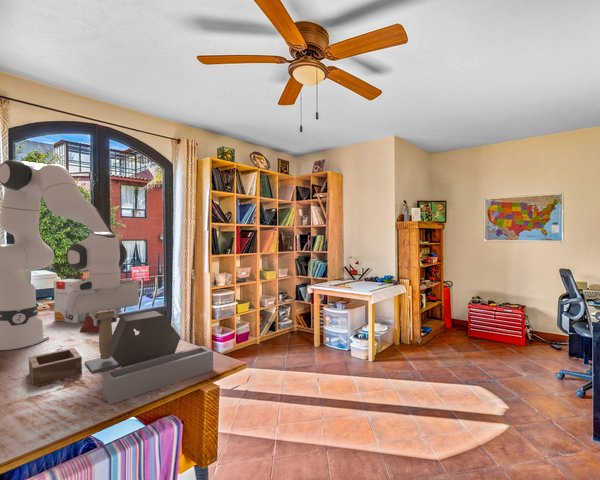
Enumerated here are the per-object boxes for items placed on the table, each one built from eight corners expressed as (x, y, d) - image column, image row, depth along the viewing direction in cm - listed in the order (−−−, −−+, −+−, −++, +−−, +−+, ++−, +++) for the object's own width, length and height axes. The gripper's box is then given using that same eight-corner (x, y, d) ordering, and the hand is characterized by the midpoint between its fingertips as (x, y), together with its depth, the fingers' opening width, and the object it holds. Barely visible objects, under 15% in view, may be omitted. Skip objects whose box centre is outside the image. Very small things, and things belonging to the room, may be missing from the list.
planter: (181, 343, 111) (145, 298, 103) (190, 349, 105) (152, 301, 97) (136, 382, 102) (93, 336, 94) (144, 391, 96) (99, 343, 88)
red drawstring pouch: (110, 326, 148) (110, 307, 148) (98, 332, 139) (98, 311, 139) (91, 326, 148) (91, 307, 148) (79, 332, 139) (78, 311, 139)
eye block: (29, 373, 98) (28, 357, 98) (74, 362, 106) (74, 347, 106) (33, 385, 90) (32, 368, 90) (81, 373, 98) (81, 357, 98)
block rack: (102, 395, 85) (102, 372, 85) (202, 364, 105) (202, 345, 105) (109, 404, 80) (109, 380, 80) (213, 370, 100) (213, 350, 100)
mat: (84, 363, 105) (84, 361, 105) (118, 355, 112) (118, 353, 112) (92, 373, 98) (92, 370, 98) (127, 363, 105) (127, 361, 105)
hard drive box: (53, 321, 158) (52, 280, 157) (68, 317, 165) (68, 278, 165) (77, 323, 153) (76, 281, 153) (92, 319, 161) (91, 279, 160)
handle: (101, 362, 101) (100, 315, 101) (94, 357, 105) (93, 312, 105) (118, 358, 105) (117, 312, 105) (110, 353, 109) (109, 309, 109)
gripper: (135, 277, 114) (136, 316, 115) (65, 283, 100) (66, 328, 100) (142, 279, 110) (142, 319, 110) (69, 286, 95) (70, 332, 96)
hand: (105, 323), depth 105 cm, fingers closed on handle, 3 cm apart
